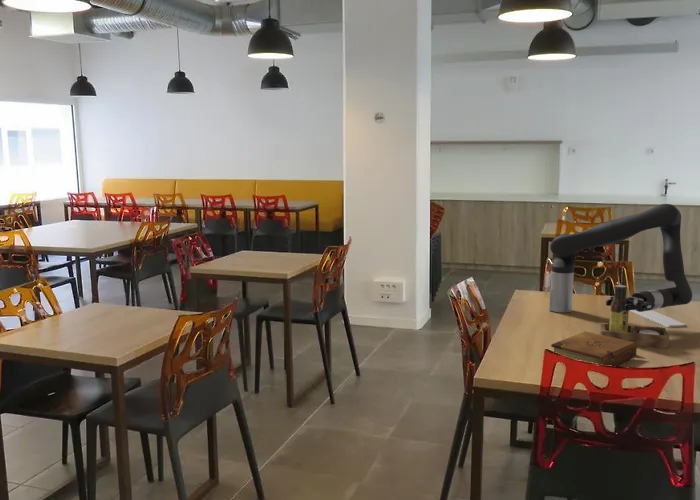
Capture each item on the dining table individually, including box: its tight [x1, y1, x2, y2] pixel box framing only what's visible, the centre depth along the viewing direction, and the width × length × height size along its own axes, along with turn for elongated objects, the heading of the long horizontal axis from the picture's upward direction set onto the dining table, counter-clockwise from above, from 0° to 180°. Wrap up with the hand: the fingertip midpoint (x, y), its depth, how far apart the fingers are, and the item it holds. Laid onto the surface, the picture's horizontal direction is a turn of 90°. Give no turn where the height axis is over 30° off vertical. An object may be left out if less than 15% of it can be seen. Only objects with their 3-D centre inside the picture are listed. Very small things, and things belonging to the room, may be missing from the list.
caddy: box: [599, 322, 670, 349], centre depth 239 cm, size 22×12×5 cm, turn 71°
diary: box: [550, 331, 638, 367], centre depth 222 cm, size 23×19×6 cm
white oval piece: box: [639, 330, 659, 335], centre depth 237 cm, size 7×7×4 cm
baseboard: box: [629, 310, 688, 328], centre depth 274 cm, size 30×3×10 cm
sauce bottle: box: [609, 284, 630, 332], centre depth 239 cm, size 6×6×20 cm
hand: (615, 305), depth 238 cm, fingers open, 8 cm apart
